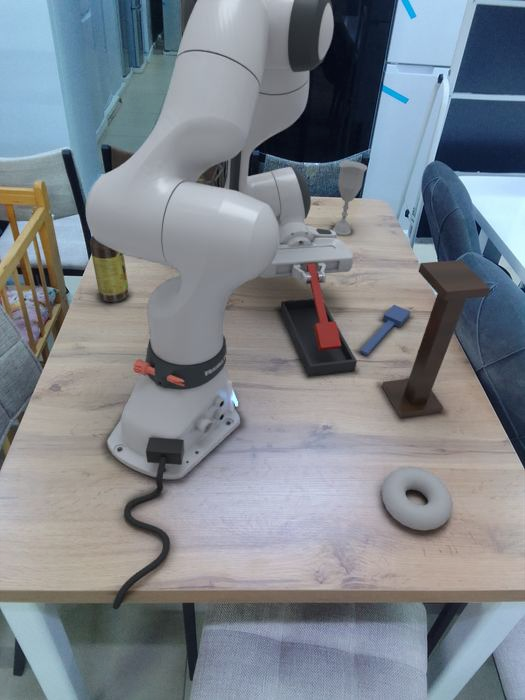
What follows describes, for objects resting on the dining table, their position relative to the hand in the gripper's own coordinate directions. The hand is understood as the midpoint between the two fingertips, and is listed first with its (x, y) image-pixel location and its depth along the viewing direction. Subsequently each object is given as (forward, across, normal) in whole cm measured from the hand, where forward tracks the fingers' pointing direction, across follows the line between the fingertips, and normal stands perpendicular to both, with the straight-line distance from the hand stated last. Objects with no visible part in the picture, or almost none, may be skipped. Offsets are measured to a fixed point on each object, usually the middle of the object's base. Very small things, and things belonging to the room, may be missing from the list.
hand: (315, 280), depth 99 cm
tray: (+4, 0, +11) cm, 12 cm away
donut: (+44, +3, +11) cm, 45 cm away
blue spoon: (+4, +16, +11) cm, 20 cm away
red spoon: (+5, 0, +4) cm, 6 cm away
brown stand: (+24, +12, +11) cm, 29 cm away
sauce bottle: (-17, -39, +11) cm, 44 cm away
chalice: (-41, +22, +12) cm, 48 cm away
